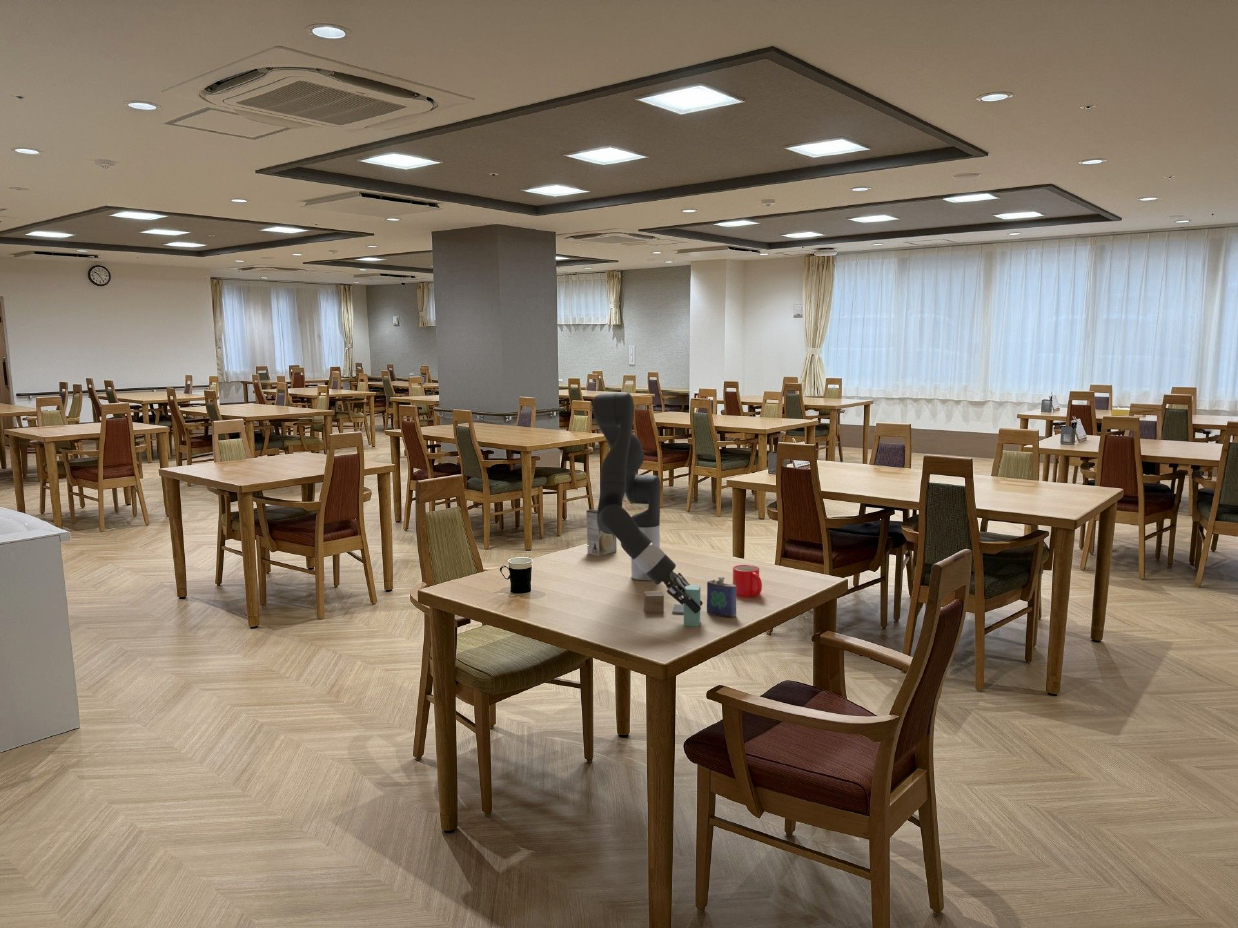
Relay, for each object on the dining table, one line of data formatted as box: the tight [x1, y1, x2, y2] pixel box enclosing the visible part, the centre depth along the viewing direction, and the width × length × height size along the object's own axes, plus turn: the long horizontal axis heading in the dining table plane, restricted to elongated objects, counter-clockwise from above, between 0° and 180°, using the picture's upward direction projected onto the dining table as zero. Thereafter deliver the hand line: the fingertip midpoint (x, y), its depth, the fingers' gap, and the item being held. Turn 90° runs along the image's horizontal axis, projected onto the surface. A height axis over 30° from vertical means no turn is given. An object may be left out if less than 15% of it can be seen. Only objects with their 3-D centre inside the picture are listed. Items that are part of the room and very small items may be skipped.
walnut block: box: [643, 590, 665, 614], centre depth 245 cm, size 5×5×5 cm
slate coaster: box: [671, 603, 684, 615], centre depth 244 cm, size 7×7×1 cm
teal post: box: [683, 584, 701, 627], centre depth 232 cm, size 4×4×10 cm
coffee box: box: [585, 507, 618, 557], centre depth 312 cm, size 9×6×16 cm
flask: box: [706, 576, 737, 619], centre depth 240 cm, size 9×3×11 cm, turn 51°
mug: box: [732, 564, 763, 598], centre depth 258 cm, size 8×12×8 cm, turn 27°
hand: (699, 608), depth 232 cm, fingers closed on teal post, 4 cm apart
